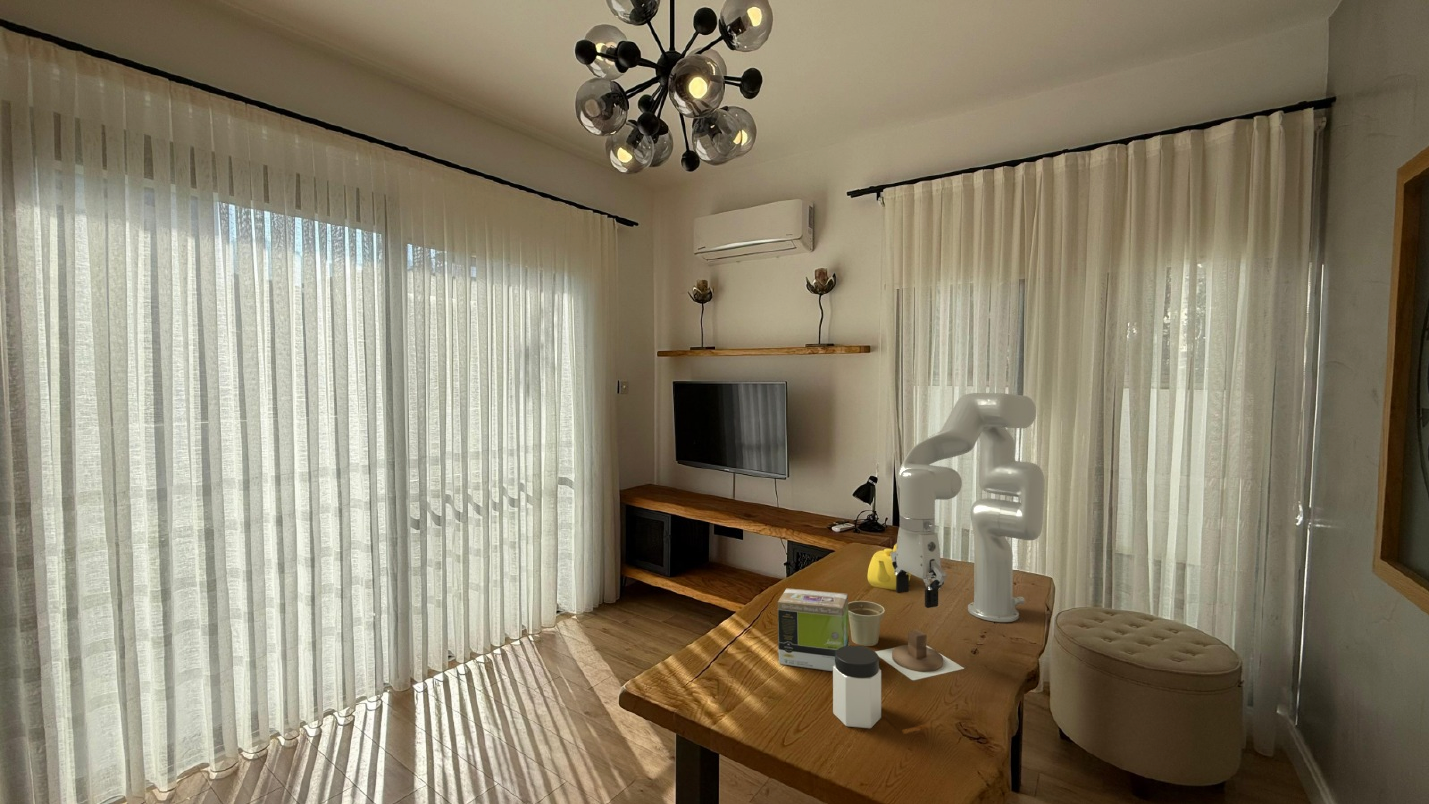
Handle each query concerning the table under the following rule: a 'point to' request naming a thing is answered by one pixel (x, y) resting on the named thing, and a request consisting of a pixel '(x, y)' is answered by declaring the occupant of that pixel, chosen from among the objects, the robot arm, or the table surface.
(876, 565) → the teapot
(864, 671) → the jar
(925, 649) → the lid
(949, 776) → the table surface
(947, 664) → the mat
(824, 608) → the tea box
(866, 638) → the flower pot
